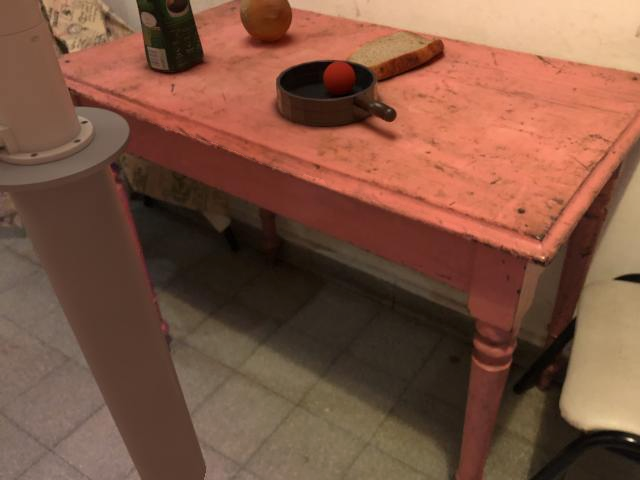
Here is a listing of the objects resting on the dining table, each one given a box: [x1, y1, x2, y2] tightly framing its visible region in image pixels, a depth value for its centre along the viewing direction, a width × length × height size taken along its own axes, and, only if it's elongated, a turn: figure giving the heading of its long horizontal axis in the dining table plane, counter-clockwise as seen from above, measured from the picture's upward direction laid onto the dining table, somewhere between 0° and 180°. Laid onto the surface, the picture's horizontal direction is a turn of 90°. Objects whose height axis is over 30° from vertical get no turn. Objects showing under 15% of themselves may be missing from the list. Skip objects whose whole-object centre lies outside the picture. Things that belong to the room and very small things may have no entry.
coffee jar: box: [135, 0, 205, 73], centre depth 99 cm, size 10×8×19 cm
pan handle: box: [354, 94, 398, 123], centre depth 83 cm, size 2×8×2 cm, turn 40°
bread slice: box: [346, 29, 445, 81], centre depth 102 cm, size 18×18×4 cm
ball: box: [323, 61, 356, 95], centre depth 91 cm, size 5×5×5 cm
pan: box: [275, 59, 379, 127], centre depth 90 cm, size 15×15×4 cm
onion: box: [239, 0, 293, 43], centre depth 110 cm, size 10×10×10 cm
